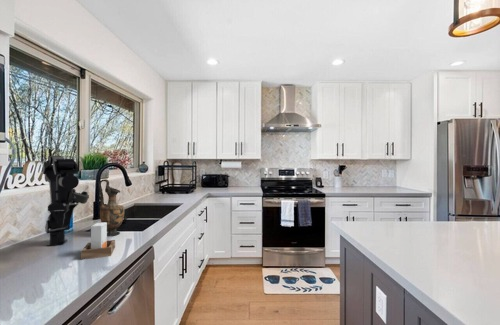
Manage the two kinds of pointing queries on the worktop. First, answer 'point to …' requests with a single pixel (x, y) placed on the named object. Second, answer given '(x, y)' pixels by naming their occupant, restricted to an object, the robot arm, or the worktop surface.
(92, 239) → the skincare box
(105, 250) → the walnut holder
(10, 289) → the worktop surface
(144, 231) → the worktop surface
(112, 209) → the vase
